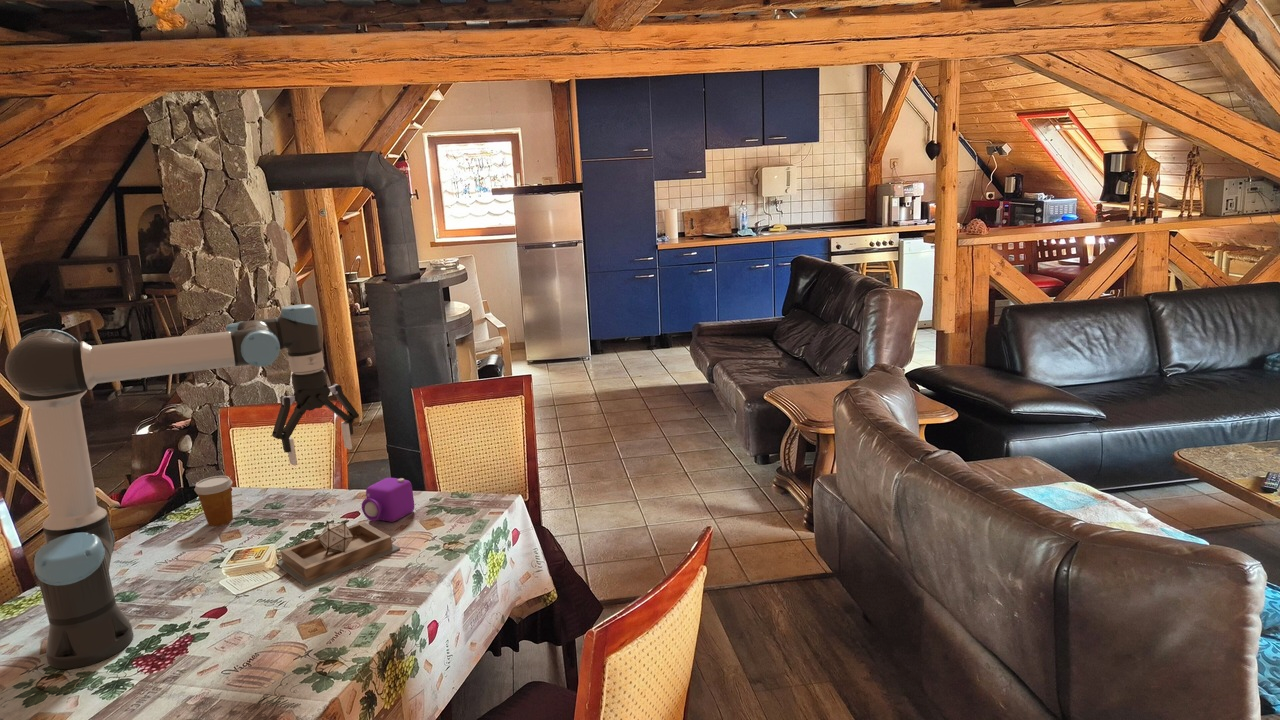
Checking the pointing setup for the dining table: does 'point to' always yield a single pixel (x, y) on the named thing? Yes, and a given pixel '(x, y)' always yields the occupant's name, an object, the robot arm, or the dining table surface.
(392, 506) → the toy camera
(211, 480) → the disposable coffee cup
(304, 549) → the brown wooden tray
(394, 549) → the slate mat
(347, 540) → the game die
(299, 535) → the dining table surface
